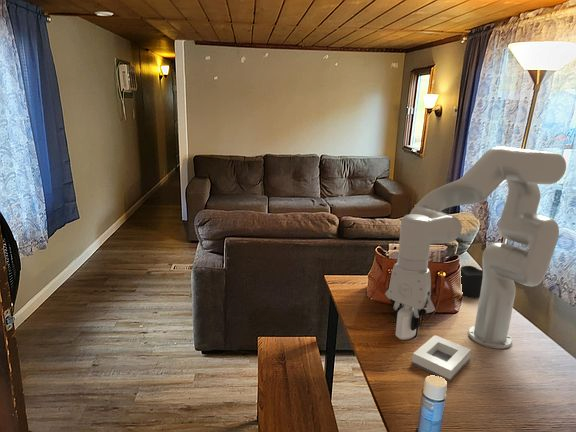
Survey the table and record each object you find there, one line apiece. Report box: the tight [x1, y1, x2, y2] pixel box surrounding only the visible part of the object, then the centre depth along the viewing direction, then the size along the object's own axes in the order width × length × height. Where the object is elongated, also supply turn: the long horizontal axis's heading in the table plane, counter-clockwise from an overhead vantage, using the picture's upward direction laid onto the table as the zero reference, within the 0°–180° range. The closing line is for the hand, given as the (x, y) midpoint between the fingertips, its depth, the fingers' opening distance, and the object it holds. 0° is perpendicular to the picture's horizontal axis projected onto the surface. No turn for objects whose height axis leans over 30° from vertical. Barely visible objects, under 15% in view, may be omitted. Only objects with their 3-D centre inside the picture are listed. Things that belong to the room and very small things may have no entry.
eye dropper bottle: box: [395, 304, 417, 340], centre depth 112 cm, size 4×6×12 cm
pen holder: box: [460, 265, 483, 299], centre depth 164 cm, size 9×9×10 cm
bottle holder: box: [411, 334, 472, 383], centre depth 120 cm, size 14×11×4 cm
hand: (406, 324), depth 113 cm, fingers closed on eye dropper bottle, 4 cm apart
